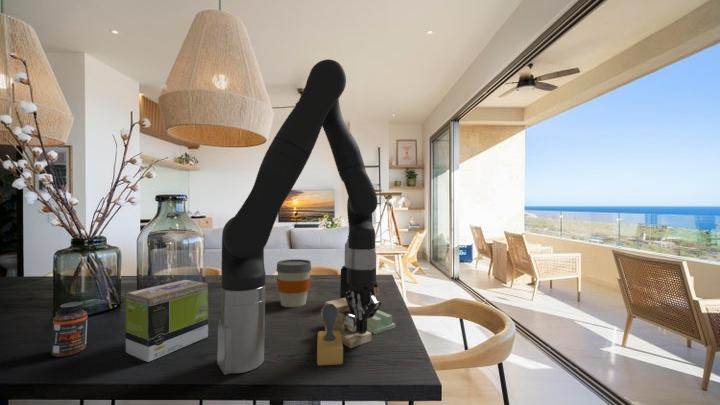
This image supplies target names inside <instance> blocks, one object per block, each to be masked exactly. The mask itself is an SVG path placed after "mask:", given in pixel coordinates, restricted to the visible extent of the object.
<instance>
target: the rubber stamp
mask: <svg viewBox="0 0 720 405" xmlns="http://www.w3.org/2000/svg"><path fill="white" fill-rule="evenodd" d="M336 317H337V309H336V307H335V306H334V305H333V304H327V305H326V306H325V307H324V309H323V317H322V318H323V321H324V325H325V324H326V328H327V331H325V330H321V331H318V332H317V346H316V363H317V364H316V365H317V366H330V365H331V366H332V365H343V363H344V346H343V345H344V344H343V343H342V338H341V332H340V331H332V328H333V325H334V322H335V320H336Z"/></svg>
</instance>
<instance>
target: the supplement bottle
mask: <svg viewBox="0 0 720 405" xmlns="http://www.w3.org/2000/svg"><path fill="white" fill-rule="evenodd" d="M83 306H84V304H83V302H82V301H72V302H67V303H63V304H61V305H59V313H58V314H56V315H55V316H54V317H53V320H52V334H51V335H52V336H51V355H52V356H53V357H55V358H63V357H68V356H69V357H70V356H73V355H75V354H78V353H80V352H82V351H84V350H85V349H86V347H87V336H88V335H87V332H88V311H86V310H84V309H83V308H84V307H83Z"/></svg>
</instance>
